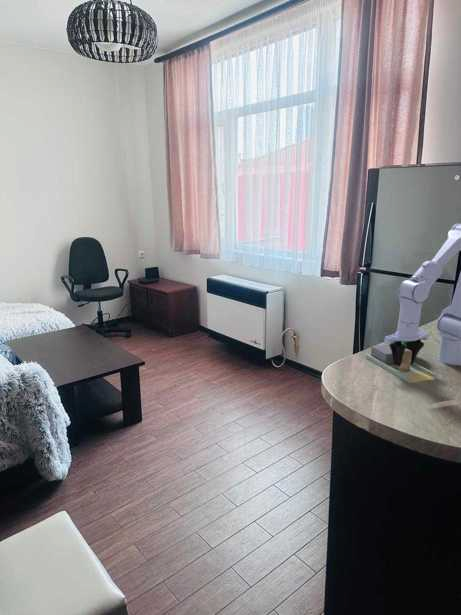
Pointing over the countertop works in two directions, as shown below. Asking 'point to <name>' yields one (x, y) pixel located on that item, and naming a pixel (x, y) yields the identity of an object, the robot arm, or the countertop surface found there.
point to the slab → (383, 354)
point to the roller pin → (405, 361)
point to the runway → (413, 375)
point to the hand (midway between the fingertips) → (403, 364)
